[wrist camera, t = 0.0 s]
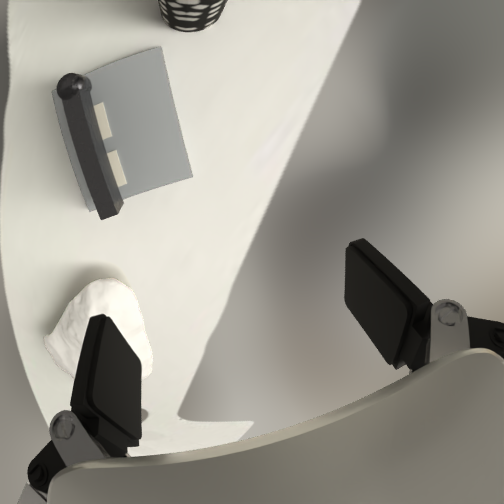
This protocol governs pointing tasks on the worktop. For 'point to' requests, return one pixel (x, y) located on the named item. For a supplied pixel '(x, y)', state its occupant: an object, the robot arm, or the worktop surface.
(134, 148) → the label panel
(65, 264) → the worktop surface
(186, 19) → the white-spotted black cylinder
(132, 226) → the worktop surface
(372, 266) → the robot arm
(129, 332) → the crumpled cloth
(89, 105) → the swing arm
